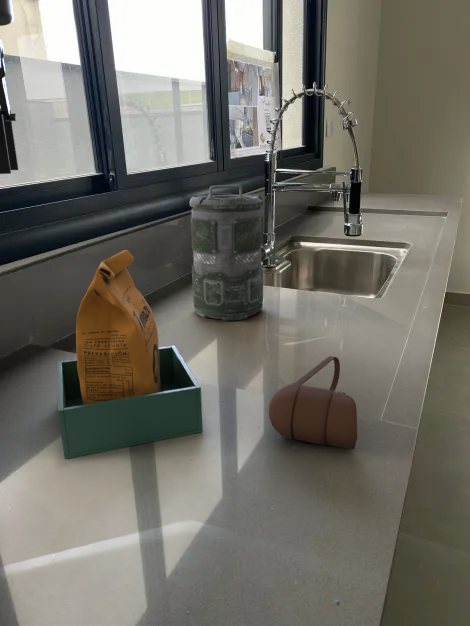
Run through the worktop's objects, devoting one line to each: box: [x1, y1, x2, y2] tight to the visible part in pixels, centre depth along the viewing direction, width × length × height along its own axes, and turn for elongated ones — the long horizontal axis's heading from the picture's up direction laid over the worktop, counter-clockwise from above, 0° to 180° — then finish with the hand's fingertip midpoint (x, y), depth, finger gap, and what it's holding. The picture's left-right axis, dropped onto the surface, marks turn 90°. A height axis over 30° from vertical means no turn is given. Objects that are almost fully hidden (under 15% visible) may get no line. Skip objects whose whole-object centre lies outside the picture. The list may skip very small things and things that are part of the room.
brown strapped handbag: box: [268, 355, 358, 450], centre depth 67 cm, size 18×12×7 cm, turn 157°
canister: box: [189, 184, 264, 322], centre depth 109 cm, size 16×16×28 cm
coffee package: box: [75, 249, 161, 405], centre depth 66 cm, size 10×12×22 cm
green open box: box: [56, 345, 204, 460], centre depth 68 cm, size 17×15×6 cm
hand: (3, 172), depth 64 cm, fingers open, 13 cm apart
